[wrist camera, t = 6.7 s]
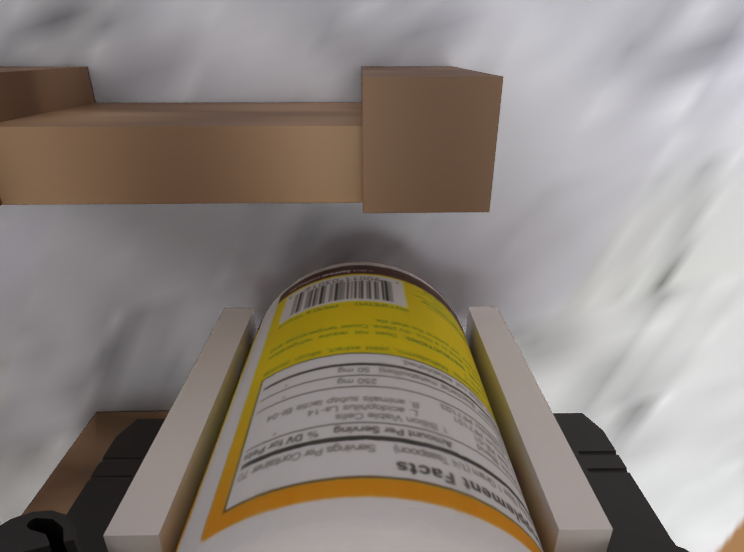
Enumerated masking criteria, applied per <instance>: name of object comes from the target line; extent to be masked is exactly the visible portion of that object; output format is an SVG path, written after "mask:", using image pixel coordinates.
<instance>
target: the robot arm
mask: <svg viewBox="0 0 744 552" xmlns="http://www.w3.org/2000/svg"><path fill="white" fill-rule="evenodd" d="M256 333H257V332H256V323H255V314H254V308H224V310H223V312H222V314H221V316H220V318H219V319H218V321H217V323H216V325H215V327H214V329H213V331H212V333H211V334H210V336H209V338H208V340H207V342H206V344H205V346H204V348H203V349H202V351H201V353H200V355H199V357H198V359H197V361H196V363H195V364H194V366H193V368H192V370H191V372H190V374H189V376H188V378H187V379H186V381H185V383H184V385H183V387H182V389H181V391H180V393H179V394H178V396H177V398H176V400H175V402H174V404H173V406H172V408H171V409H170V411H169V413H168V415H167V417H166V419H137V420H135V421H134V422H133V423H132V424H131V425H129V426H128V427H127V428H126V429H125V430H123V431H122V432H121V433H120V434H119V435H117V436H116V437H115V439H114V441H113V442H112V444H111V445H110V447H109V448H108V450H107V451H106V453H105V455H104V456H103V458H102V462H99V464H98V466H97V467H96V469H95V470H94V472H93V473H92V475H91V480H88V481H87V483H86V484H85V486H84V488H83V489H82V491H81V492H80V494H79V495H78V497H77V499H76V500H75V502H74V503H73V505H72V506H71V508H70V510H69V511H68V513H67V514H62V513H59V512H56V511H53V510H48V511H36V512H31V513H28V514H25V515H22V516H19V517H16V518H13V519H10V520H9V521H7V522H5V523H4V524H2V525H0V552H175V550H176V548H177V545H178V542H179V540H180V537H181V534H182V532H183V529H184V527H185V524H186V521H187V519H188V516H189V513H190V511H191V508H192V505H193V503H194V500H195V497H196V495H197V492H198V489H199V487H200V484H201V481H202V479H203V476H204V474H205V471H206V468H207V466H208V463H209V460H210V457H211V455H212V452H213V449H214V447H215V444H216V441H217V439H218V436H219V433H220V430H221V428H222V425H223V422H224V420H225V417H226V414H227V411H228V409H229V406H230V403H231V401H232V398H233V395H234V392H235V390H236V387H237V384H238V382H239V379H240V376H241V373H242V370H243V368H244V365H245V362H246V359H247V357H248V354H249V352H250V349H251V346H252V344H253V341H254V338H255V336H256ZM465 337H466V340H467V343H468V346H469V348H470V351H471V354H472V357H473V360H474V362H475V365H476V368H477V370H478V373H479V376H480V378H481V381H482V384H483V387H484V389H485V392H486V395H487V398H488V401H489V403H490V406H491V409H492V412H493V415H494V417H495V420H496V423H497V426H498V428H499V431H500V434H501V436H502V439H503V442H504V444H505V447H506V450H507V453H508V456H509V458H510V461H511V464H512V466H513V469H514V472H515V475H516V477H517V480H518V483H519V486H520V488H521V491H522V494H523V497H524V499H525V502H526V505H527V508H528V510H529V513H530V516H531V519H532V521H533V524H534V526H535V529H536V532H537V534H538V537H539V540H540V543H541V545H542V548H543V551H544V552H689V551H687V550H686V549H684V548H681V547H678V546H676V545H675V543H674V542H673V541H672V539H671V538H670V536H669V535H668V533H667V532H666V530H665V528H664V527H663V525H662V524H661V522H660V520H659V519H658V517H657V516H656V514H655V513H654V511H653V509H652V508H651V506H650V505H649V503H648V501H647V500H646V498H645V497H644V495H643V493H642V492H641V490H640V489H639V487H638V485H637V484H636V482H635V481H634V479H633V478H632V476H631V474H630V473H627V470H626V469H627V468H626V466H625V465H624V463H623V462H622V460H621V458H620V457H619V455H616V450H615V449H614V447H613V446H612V444H611V443H610V441H609V439H608V438H607V436H606V435H605V433H604V431H603V430H602V429H601V428H599V427H598V426H597V425H596V424H595V423H593V422H592V421H591V420H590V419H589V418H587V417H586V416H585V415H584V414H583V413H552V411H551V409H550V407H549V405H548V403H547V401H546V400H545V398H544V396H543V394H542V392H541V390H540V388H539V386H538V384H537V382H536V380H535V378H534V376H533V375H532V373H531V371H530V369H529V367H528V365H527V363H526V361H525V359H524V357H523V355H522V353H521V351H520V350H519V348H518V346H517V344H516V342H515V340H514V338H513V336H512V334H511V332H510V330H509V328H508V327H507V325H506V323H505V321H504V319H503V317H502V315H501V313H500V311H499V309H498V307H468V315H467V325H466V336H465Z"/></svg>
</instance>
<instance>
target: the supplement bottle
mask: <svg viewBox="0 0 744 552" xmlns="http://www.w3.org/2000/svg"><path fill="white" fill-rule="evenodd" d="M175 552H544V551H543V548H542V545H541V543H540V540H539V537H538V534H537V532H536V529H535V526H534V524H533V521H532V519H531V516H530V513H529V510H528V508H527V505H526V502H525V499H524V497H523V494H522V491H521V488H520V486H519V483H518V480H517V477H516V475H515V472H514V469H513V466H512V464H511V461H510V458H509V456H508V453H507V450H506V447H505V444H504V442H503V439H502V436H501V434H500V431H499V428H498V426H497V423H496V420H495V417H494V415H493V412H492V409H491V406H490V403H489V401H488V398H487V395H486V392H485V389H484V387H483V384H482V381H481V378H480V376H479V373H478V370H477V368H476V365H475V362H474V360H473V357H472V354H471V351H470V348H469V346H468V343H467V340H466V337H465V335H464V332H463V329H462V327H461V325H460V323H459V321H458V319H457V317H456V315H455V313H454V312H453V310H452V308H451V307H450V305H449V304H448V303H447V301H446V300H445V299H444V298H443V297H442V296H441V295H440V294H439V293H438V292H437V291H436V290H435V289H434V288H433V287H432V286H431V285H429V284H428V283H427V282H425V281H424V280H422V279H421V278H419V277H417V276H415V275H413V274H411V273H409V272H407V271H405V270H402V269H400V268H397V267H393V266H390V265H386V264H380V263H373V262H347V263H340V264H335V265H331V266H327V267H324V268H321V269H318V270H316V271H313V272H311V273H309V274H307V275H305V276H303V277H302V278H300V279H298V280H297V281H295V282H294V283H293V284H291V285H290V286H289V287H288V288H286V289H285V290H284V291H283V292H282V293H281V294H280V295H279V296H278V297H277V298H276V299H275V300H274V301H273V303H272V304H271V306H270V307H269V308H268V310H267V312H266V314H265V315H264V317H263V319H262V321H261V324H260V326H259V328H258V330H257V333H256V336H255V338H254V341H253V344H252V346H251V349H250V352H249V354H248V357H247V359H246V362H245V365H244V368H243V370H242V373H241V376H240V379H239V382H238V384H237V387H236V390H235V392H234V395H233V398H232V401H231V403H230V406H229V409H228V411H227V414H226V417H225V420H224V422H223V425H222V428H221V430H220V433H219V436H218V439H217V441H216V444H215V447H214V449H213V452H212V455H211V457H210V460H209V463H208V466H207V468H206V471H205V474H204V476H203V479H202V481H201V484H200V487H199V489H198V492H197V495H196V497H195V500H194V503H193V505H192V508H191V511H190V513H189V516H188V519H187V521H186V524H185V527H184V529H183V532H182V534H181V537H180V540H179V542H178V545H177V548H176V550H175Z"/></svg>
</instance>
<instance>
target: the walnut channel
mask: <svg viewBox="0 0 744 552" xmlns="http://www.w3.org/2000/svg"><path fill="white" fill-rule="evenodd" d="M361 72H362V102H294V103H95V101H94V96H93V92H92V87H91V83H90V78H89V74H88V69H87V67H0V206H1V205H29V204H194V203H359V202H363V213H431V212H489V209H490V199H491V190H492V180H493V170H494V161H495V151H496V141H497V132H498V122H499V113H500V103H501V93H502V84H503V77H502V76H497V75H492V74H487V73H482V72H477V71H472V70H467V69H462V68H457V67H361ZM168 413H169V411H144V412H96V413H95V415H94V416H93V417H92V419H91V420H90V421H89V423H88V424H87V426H86V427H85V428H84V430H83V431H82V433H81V434H80V435H79V437H78V438H77V439H76V441H75V442H74V444H73V445H72V446H71V448H70V449H69V450H68V452H67V453H66V455H65V456H64V457H63V459H62V460H61V462H60V463H59V464H58V466H57V467H56V468H55V470H54V471H53V473H52V474H51V475H50V477H49V478H48V479H47V481H46V482H45V484H44V485H43V486H42V488H41V489H40V491H39V492H38V493H37V495H36V496H35V497H34V499H33V500H32V502H31V503H30V504H29V506H28V507H27V508H26V510H25V511H24V513H23V514H22V515H25V514H28V513H31V512H36V511H48V510H53V511H56V512H59V513H62V514H67V513H68V511H69V510H70V508H71V506H72V505H73V503H74V502H75V500H76V499H77V497H78V495H79V494H80V492H81V491H82V489H83V488H84V486H85V484H86V483H87V481H88V480H91V475H92V473H93V472H94V470H95V469H96V467H97V466H98V464H99V462H102V458H103V456H104V455H105V453H106V451H107V450H108V448H109V447H110V445H111V444H112V442H113V441H114V439H115V437H116V436H117V435H119V434H120V433H121V432H122V431H123V430H125V429H126V428H127V427H128V426H129V425H131V424H132V423H133V422H134V421H135V420H137V419H166V417H167V415H168ZM22 515H21V516H22Z"/></svg>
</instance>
